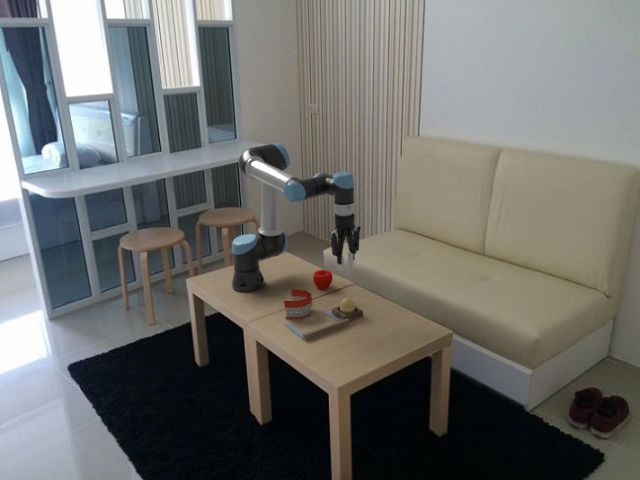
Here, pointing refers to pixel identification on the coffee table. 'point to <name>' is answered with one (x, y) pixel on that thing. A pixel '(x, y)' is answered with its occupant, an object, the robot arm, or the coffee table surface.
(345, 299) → the pale yellow sphere
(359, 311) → the base
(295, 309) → the toy
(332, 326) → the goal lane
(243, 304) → the coffee table surface
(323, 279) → the apple
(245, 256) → the robot arm
